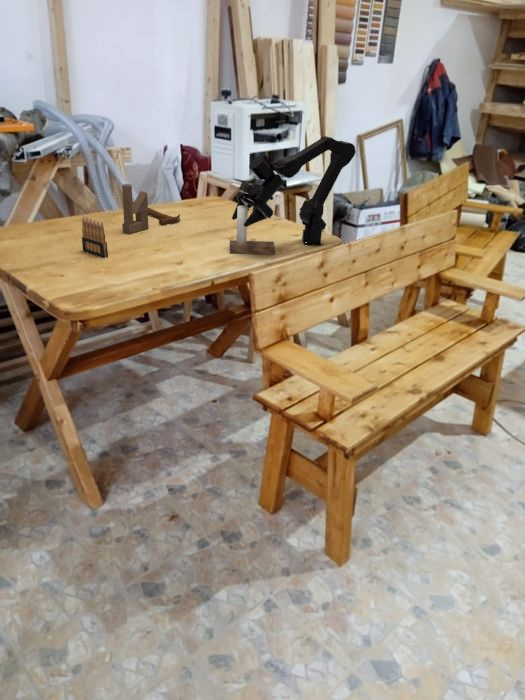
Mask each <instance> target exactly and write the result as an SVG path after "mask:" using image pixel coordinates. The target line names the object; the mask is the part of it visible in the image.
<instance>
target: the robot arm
mask: <svg viewBox="0 0 525 700" xmlns="http://www.w3.org/2000/svg"><path fill="white" fill-rule="evenodd" d="M327 151H329V152H330V159H329V160H330V161H329V165H328V167H326V168H327V169H326V170H325V172H324V174H323V176H322V178H321V180H320V182H319V184H318V186H317V188H316V190H315V191H314V194H313V195H312V196H311V197H312V198H309V200H306V199H305V200H303V203H302V205H301V207H300V208H299V215H298V216H299V220H301V224H302V225H303V226H304V229H303V230H302V235H301V241H302V242H303V244H304V243H305V242H307V243H305V244H315V245H314V246H322V233H323V230H326V227H327V223H326V221H325V220H324V219H323V215H324V208H325V207H324V204H325V203H326V200H327V199H328V196H329V194H330V193H331V191H332V189H333V187H334V185H335V183H336V181H337V179H338V177H339V175H340V173H341V171H342V169H344V168H346V167H347V165H349V164H350V162H351V161H352V160H353V158H354V157H355V155H356V152H357V151H356V146H355V145H354V144H353V143H351V142H348V141H347V142H346V141H343V140H336V139H334V138H332V137H331V136H324V135H323V136H321V137H320V139H318V140H316V141H315V142H313V143H311V144H310V145H308V146H307V147H304V148H303V149H301V150H300V151H299V152H297V153H295V154H291V155H287V156H284V157H281V158H279V159H277V160H276V161H274V162H271V160H270V159H269V157H268V156H267V154H264V153H262V154H261V155H260V156H257V157H255V158H254V159H252V160H251V161H250V163H249V169H250V170H251V171H252V173H254V175H255V176H256V177H257V178H258V180H259V181H262V180H263V181H262V182H261V183H260V184H259V183H258V184H257V183H255V182H253V183H251V184H250V183H248V182H247V181H243V180H242V181H241V182H240V183H241V184H240V186H239V188H238V192H237V193H236V194H235V199H236V201H237V202H236V203H237V204H236V206H235V209H234V212H233V214H232V216H231V220H233V221H235V220H237V209H238V206H247V207H248V211H250V209H251V208H252V211H251V213H250V215H248V216H247V220H246V222H245V223H244V226H245V227H247V228H248V227H249V226H251V225H254V224H256V223H259V222H261V221H264V220H267V219H271V218H272V217H273V216H274V210H273V208H271V207H270V206H269V204H268V202H269V201H273V200H274V197H273V196H274V195H275V194H276V193H277V191H278V190H279V189H280V188H283V189H287V188H288V185H287V184H288V183H287V182H288V181H287V180H286V179H283V178H282V177H284V178H287V179H291V178H293V177H295V176H296V175H297V174H298V173H299V172H300V171H301V169H302V167H303V166H305V165H306V164H307V163H310V162H311V161H313V160H315V159H316V158H317V157H319V156H321V155H322V154H324V153H325V152H327ZM305 244H304V245H305Z"/></svg>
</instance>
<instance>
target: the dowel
mask: <svg viewBox="0 0 525 700" xmlns="http://www.w3.org/2000/svg"><path fill="white" fill-rule="evenodd" d="M248 217H249V215H248V207H247V206H238V209H237V219H236V239H235V240H236V243H237V244H240V245H244V244H246V241H247V238H248V237H247V233H248V226H247V227H245V226H244V223H245V222H246V220H247V219H248Z"/></svg>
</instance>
